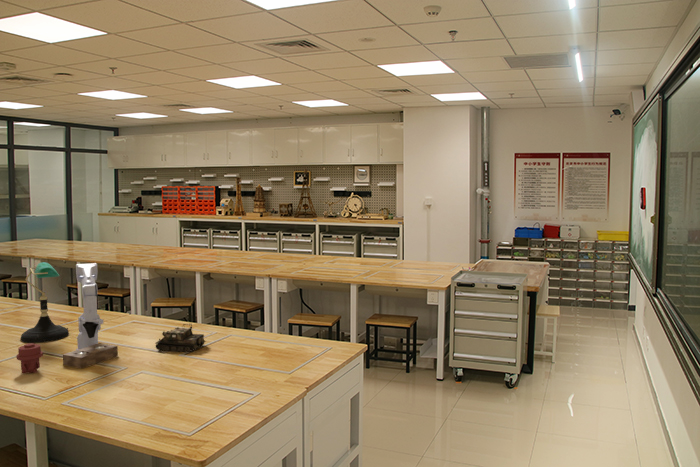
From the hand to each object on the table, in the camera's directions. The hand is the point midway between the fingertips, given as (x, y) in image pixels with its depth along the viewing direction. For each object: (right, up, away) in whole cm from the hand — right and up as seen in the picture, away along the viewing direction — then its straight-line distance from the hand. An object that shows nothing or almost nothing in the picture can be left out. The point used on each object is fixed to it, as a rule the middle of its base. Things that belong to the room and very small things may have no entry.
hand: (91, 337), depth 248 cm
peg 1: (0, -10, -8) cm, 13 cm away
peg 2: (+4, -10, +1) cm, 10 cm away
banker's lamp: (-43, -7, +36) cm, 57 cm away
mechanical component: (-17, -12, -19) cm, 28 cm away
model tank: (+38, -9, +17) cm, 42 cm away
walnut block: (+2, -10, -3) cm, 11 cm away
